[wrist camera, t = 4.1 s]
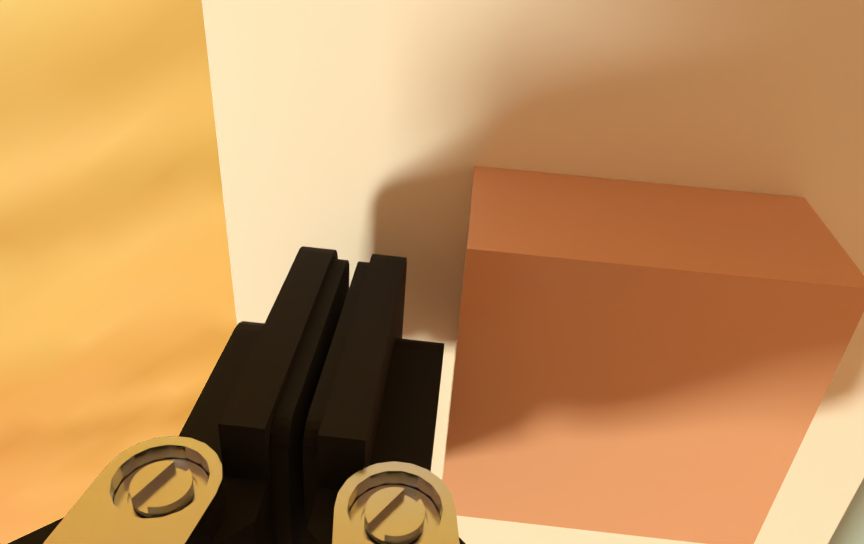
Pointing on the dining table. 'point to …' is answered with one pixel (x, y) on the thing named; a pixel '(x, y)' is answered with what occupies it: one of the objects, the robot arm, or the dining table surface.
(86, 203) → the dining table surface
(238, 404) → the robot arm
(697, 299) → the terracotta tile
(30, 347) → the dining table surface
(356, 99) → the board
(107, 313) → the dining table surface
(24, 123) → the dining table surface
